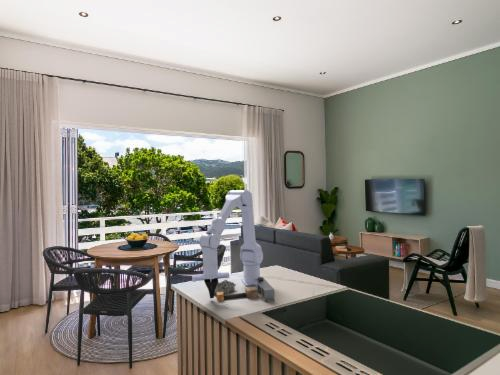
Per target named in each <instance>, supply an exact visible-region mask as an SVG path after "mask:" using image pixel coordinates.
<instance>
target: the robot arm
mask: <svg viewBox="0 0 500 375" xmlns="http://www.w3.org/2000/svg"><path fill="white" fill-rule="evenodd" d="M253 202H254V201H253V193H252V192H250V191H249V190H248V189H244V190H242V189H241V190H237V189H236V190H233V189H230V190H229V191H228V192H227V193H226V195H225V202H224V205H223V206H222V208H221V211H220V212H219V215H218V217H214V218H213V219H212V220H211V224H210V225H209V227H208V229H207V230H206V232H205V233H203V234H202V235H201V236H200V237H199V241H198V244H199V246H200V248H201V252H202V267H203V270H202V271H203V273H201V274H197V275H196V274H195V275H192V276H191V277H192V279H191V280H192V282H194V283H195V282H198V281H199V282H202V281H204V284H205V286H206V288H207V290H208V294H209V298H210V299H214V297H215V294H214V293H215V289H216V286H217V284H218V282H219V279H220V280H221V279H230V272H227V271H226V272H225V271H224V272H219V266H218V263H219V262H218V247H219V246H220V244H221V237H222V234H223V232H224V231H225V229H226V226H227V223H226V222H227V220H228V218H229V216H230V215H231V214H232V212H233V211H234V209H235V208H238V209H239V210H240V212H241V223H242V235H243V244H242V245H241V246H240V252H239V258H240V261H241V262H242V264H243V271H242V272H243V278H242V279H241V281H242V282H243V284H244V285H245V286H247V287H249V286H255V279H258V277H261V268H260V267H261V263H262V262H263V261H264V260H263V259H264V252H263V250H262V246H261V245H260V244H259V243H258V242H257V241H256V229H255V220H254V216H255V215H254V204H253Z"/></svg>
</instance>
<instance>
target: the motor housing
mask: <svg viewBox="0 0 500 375" xmlns="http://www.w3.org/2000/svg"><path fill="white" fill-rule="evenodd" d="M254 287H255V288H256V289H257V291H258V292H259V293H260V294H261V296H260V297H261V299H262V298H263V299H262V300H263V301H264V302H271V301H272V300H274V301H275V289H274V287H272V285H271V284H270V283H269V282H268V281H267V280H266V279H265V278H264V277H262V276H260V277H258V279H255V285H254ZM272 302H273V301H272Z"/></svg>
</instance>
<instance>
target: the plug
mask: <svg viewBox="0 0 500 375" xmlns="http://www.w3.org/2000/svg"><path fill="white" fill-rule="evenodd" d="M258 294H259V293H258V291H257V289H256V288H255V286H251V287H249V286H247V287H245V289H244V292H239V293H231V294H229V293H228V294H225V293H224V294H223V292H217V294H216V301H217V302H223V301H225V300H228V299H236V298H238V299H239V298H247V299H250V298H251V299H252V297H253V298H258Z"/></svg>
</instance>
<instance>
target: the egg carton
mask: <svg viewBox="0 0 500 375" xmlns="http://www.w3.org/2000/svg"><path fill="white" fill-rule="evenodd" d="M236 286H237V283H234V282H232V281H230V280H227V279H224V280H223V281H218V284H217V286H216V289H215V293H214V295H217V292H223V294H224V295H225V294H229V293H230V292H234V290H236V289H235V287H236Z"/></svg>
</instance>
